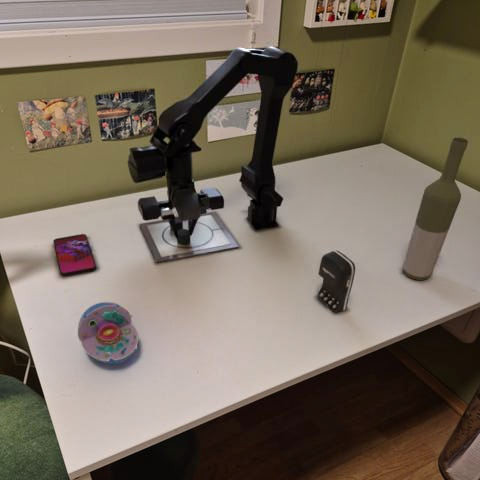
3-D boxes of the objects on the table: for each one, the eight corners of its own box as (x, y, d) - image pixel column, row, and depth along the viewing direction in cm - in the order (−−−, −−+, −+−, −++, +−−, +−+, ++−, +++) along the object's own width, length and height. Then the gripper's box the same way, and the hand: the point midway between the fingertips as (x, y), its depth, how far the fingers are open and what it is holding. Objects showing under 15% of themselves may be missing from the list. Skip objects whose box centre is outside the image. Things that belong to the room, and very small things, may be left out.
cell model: (98, 384, 79) (87, 343, 72) (76, 341, 86) (64, 301, 80) (152, 362, 83) (147, 322, 76) (127, 323, 90) (120, 284, 84)
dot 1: (181, 225, 118) (180, 216, 116) (184, 231, 116) (184, 222, 114) (168, 227, 117) (168, 218, 115) (172, 233, 115) (171, 224, 113)
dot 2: (188, 236, 113) (187, 227, 112) (192, 243, 111) (191, 234, 109) (175, 239, 112) (174, 230, 111) (179, 245, 110) (178, 236, 108)
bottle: (438, 276, 105) (489, 143, 85) (417, 286, 102) (464, 150, 82) (414, 261, 109) (457, 130, 89) (393, 270, 106) (432, 137, 86)
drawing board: (214, 213, 124) (214, 210, 124) (238, 247, 112) (239, 245, 111) (139, 225, 118) (139, 223, 118) (156, 263, 106) (156, 261, 105)
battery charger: (311, 297, 98) (319, 251, 90) (326, 292, 99) (334, 246, 92) (332, 316, 94) (342, 269, 86) (347, 310, 95) (358, 264, 87)
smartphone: (60, 274, 100) (52, 238, 111) (61, 277, 101) (53, 242, 111) (96, 267, 103) (85, 233, 113) (97, 270, 103) (86, 236, 113)
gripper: (144, 195, 92) (152, 261, 103) (233, 182, 98) (232, 246, 108) (133, 173, 100) (141, 236, 110) (215, 162, 105) (216, 223, 116)
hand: (183, 236), depth 111 cm, fingers closed on dot 2, 3 cm apart
